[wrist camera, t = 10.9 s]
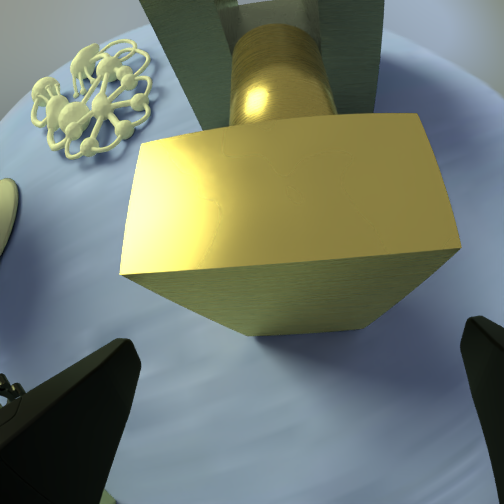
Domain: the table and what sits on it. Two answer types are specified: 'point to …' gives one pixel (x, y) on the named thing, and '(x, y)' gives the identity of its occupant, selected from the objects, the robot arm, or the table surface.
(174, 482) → the table surface
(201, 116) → the housing
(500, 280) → the table surface
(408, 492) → the table surface
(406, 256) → the end cover
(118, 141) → the tangled rod sculpture
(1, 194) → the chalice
